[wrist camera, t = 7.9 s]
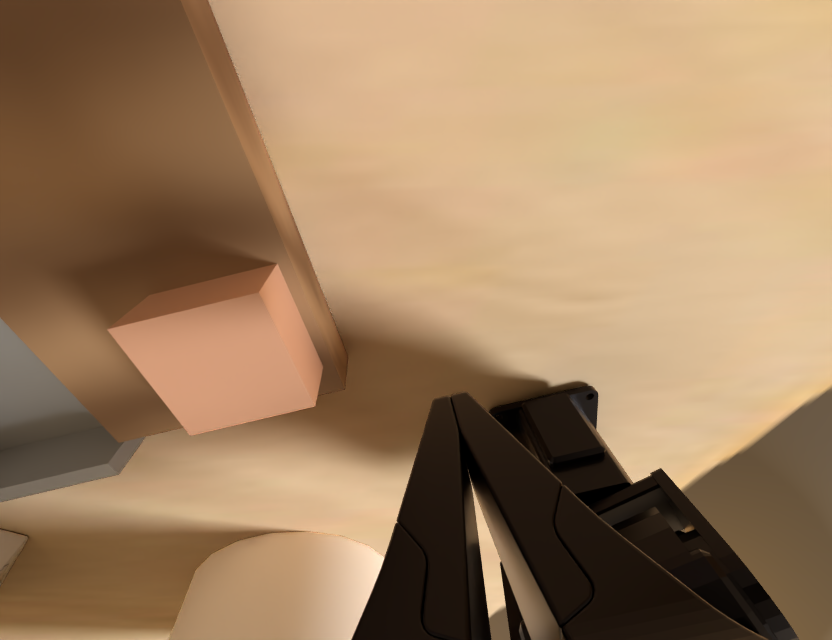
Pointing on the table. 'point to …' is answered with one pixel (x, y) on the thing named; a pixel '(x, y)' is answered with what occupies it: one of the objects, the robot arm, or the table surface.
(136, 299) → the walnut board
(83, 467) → the grey tray
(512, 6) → the table surface
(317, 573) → the canister
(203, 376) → the terracotta tile
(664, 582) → the robot arm
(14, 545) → the coffee box
